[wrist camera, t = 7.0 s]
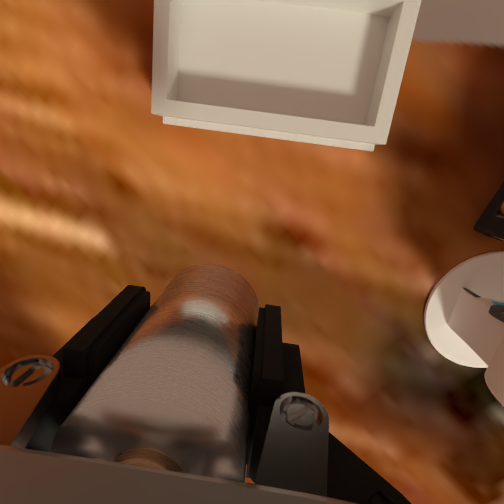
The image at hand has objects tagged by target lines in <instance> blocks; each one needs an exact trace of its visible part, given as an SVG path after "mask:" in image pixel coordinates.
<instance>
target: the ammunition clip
mask: <svg viewBox="0 0 504 504" xmlns="http://www.w3.org/2000/svg"><path fill="white" fill-rule="evenodd" d="M474 230H477V231H479V232H481V233H483V234H485V235H488V236H490V237H492V238H495V239H498V240H501V241H504V183H503V184H502V186H501V187H500V189H499V190H498V192H497V193H496V194H495V196H494V197H493V199H492V200H491V202H490V203H489V205H488V206H487V208H486V209H485V211H484V212H483V214H482V215H481V217H480V218H479V219H478V221H477V222H476V224H475V225H474Z"/></svg>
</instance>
